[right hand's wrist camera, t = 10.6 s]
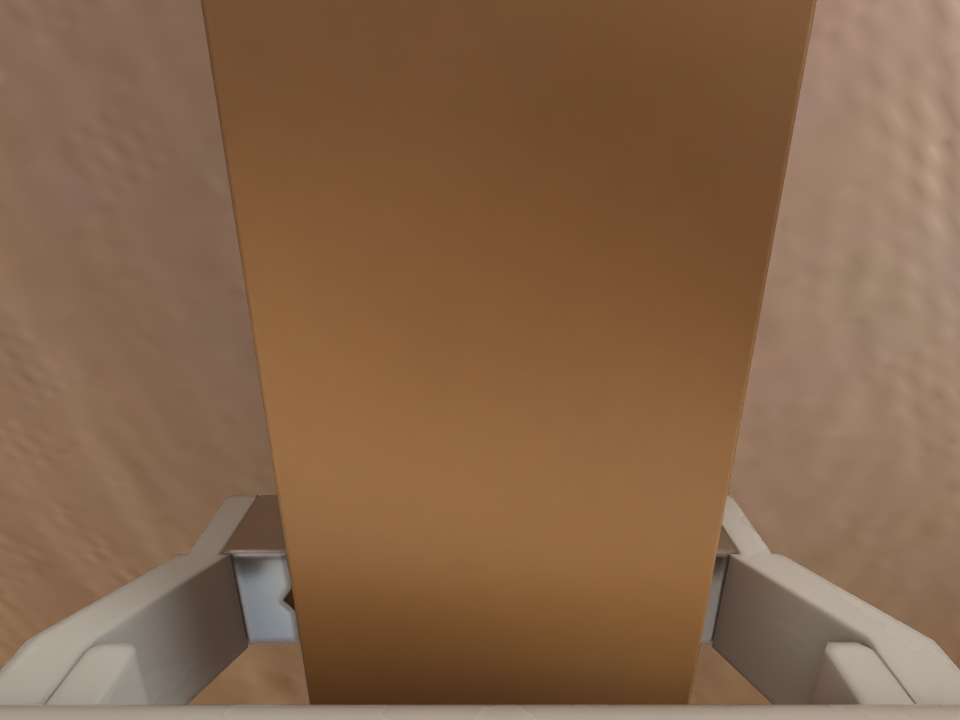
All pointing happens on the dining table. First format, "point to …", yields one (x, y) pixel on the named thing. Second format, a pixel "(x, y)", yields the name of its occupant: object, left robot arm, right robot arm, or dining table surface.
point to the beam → (504, 324)
